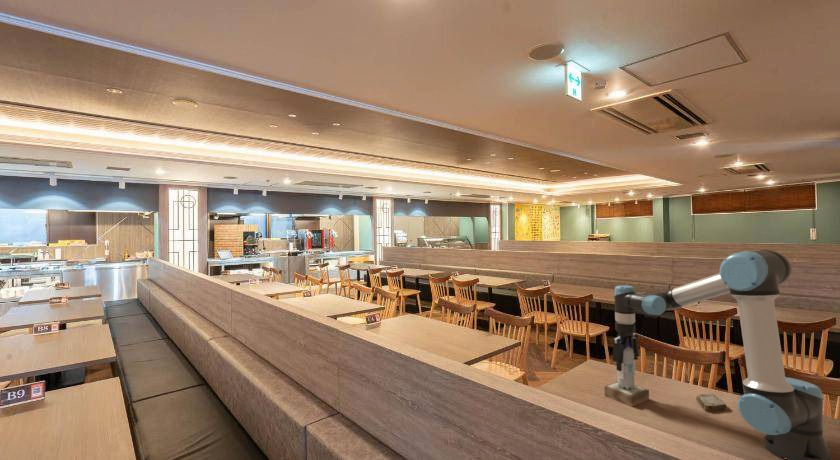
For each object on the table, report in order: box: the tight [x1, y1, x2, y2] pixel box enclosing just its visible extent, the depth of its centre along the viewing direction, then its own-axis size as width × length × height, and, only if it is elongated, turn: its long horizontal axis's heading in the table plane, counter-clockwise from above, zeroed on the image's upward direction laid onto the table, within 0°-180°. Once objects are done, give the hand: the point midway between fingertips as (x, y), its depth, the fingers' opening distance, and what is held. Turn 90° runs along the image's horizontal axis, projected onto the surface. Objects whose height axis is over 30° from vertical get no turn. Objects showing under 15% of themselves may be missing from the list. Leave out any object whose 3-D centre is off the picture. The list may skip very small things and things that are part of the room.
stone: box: [695, 393, 727, 413], centre depth 152 cm, size 15×8×3 cm, turn 159°
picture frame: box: [604, 381, 650, 408], centre depth 161 cm, size 12×12×4 cm
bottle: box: [617, 342, 636, 390], centre depth 160 cm, size 7×7×20 cm
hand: (626, 375), depth 161 cm, fingers open, 7 cm apart
